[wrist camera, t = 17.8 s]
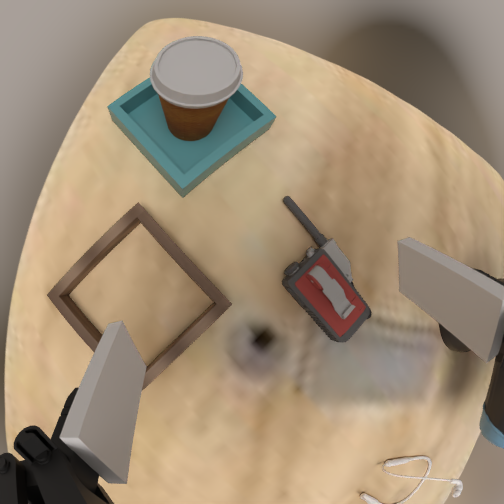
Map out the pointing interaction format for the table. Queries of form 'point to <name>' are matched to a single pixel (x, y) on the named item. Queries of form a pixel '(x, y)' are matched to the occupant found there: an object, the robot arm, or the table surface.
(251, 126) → the teal tray
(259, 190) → the table surface
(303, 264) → the walkie-talkie
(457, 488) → the earphone
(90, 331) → the walnut cup stand
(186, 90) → the disposable coffee cup
